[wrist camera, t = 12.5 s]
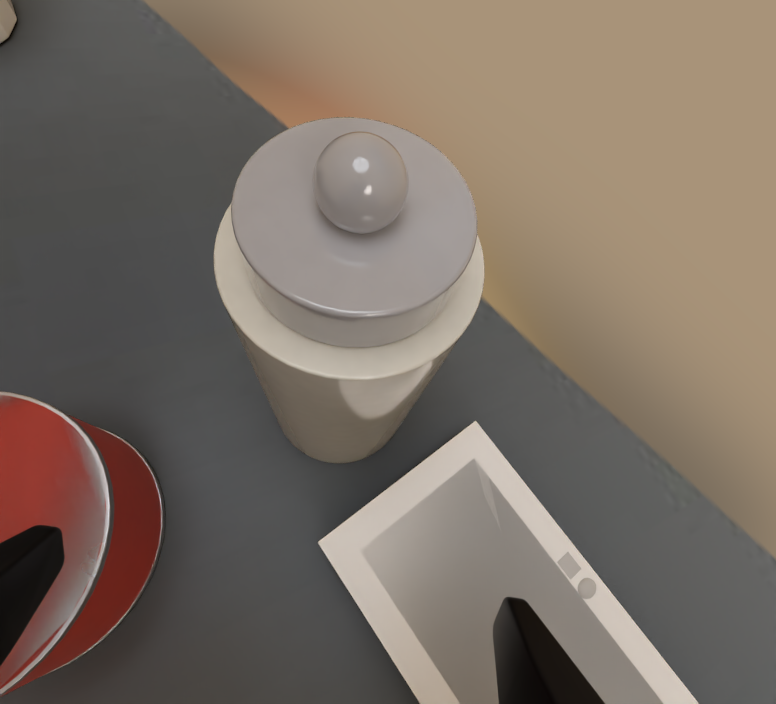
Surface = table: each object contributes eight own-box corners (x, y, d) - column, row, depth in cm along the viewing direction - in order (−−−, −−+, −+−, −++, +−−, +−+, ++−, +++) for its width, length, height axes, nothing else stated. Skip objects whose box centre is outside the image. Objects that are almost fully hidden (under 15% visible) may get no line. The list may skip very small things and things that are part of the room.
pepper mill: (422, 436, 19) (609, 253, 6) (297, 483, 18) (219, 368, 5) (377, 325, 21) (454, 9, 8) (259, 360, 19) (132, 44, 7)
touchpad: (589, 967, 13) (635, 1044, 11) (318, 541, 17) (317, 543, 15) (729, 760, 16) (786, 793, 14) (467, 426, 19) (483, 414, 17)
